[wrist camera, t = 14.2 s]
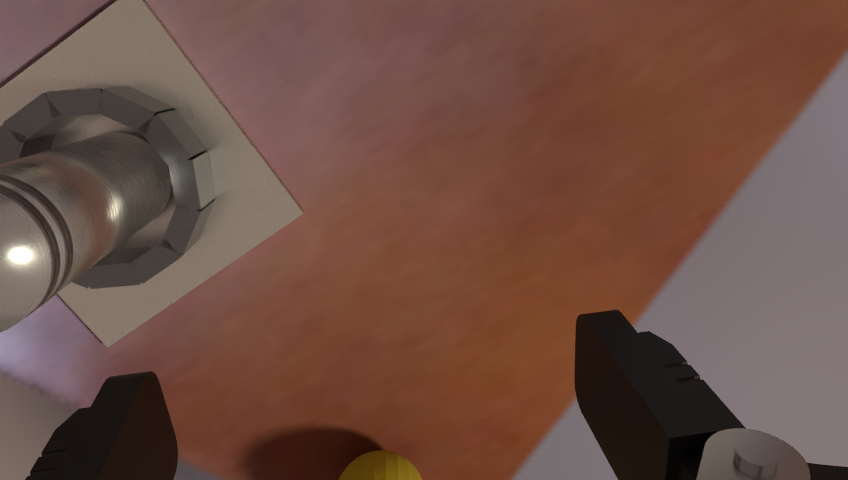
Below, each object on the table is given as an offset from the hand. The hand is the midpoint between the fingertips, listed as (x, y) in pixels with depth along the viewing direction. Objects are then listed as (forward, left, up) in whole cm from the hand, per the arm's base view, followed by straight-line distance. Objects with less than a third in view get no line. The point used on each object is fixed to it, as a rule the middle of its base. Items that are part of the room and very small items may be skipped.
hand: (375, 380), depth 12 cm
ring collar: (-7, -12, -24) cm, 28 cm away
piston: (-7, -12, -24) cm, 27 cm away
